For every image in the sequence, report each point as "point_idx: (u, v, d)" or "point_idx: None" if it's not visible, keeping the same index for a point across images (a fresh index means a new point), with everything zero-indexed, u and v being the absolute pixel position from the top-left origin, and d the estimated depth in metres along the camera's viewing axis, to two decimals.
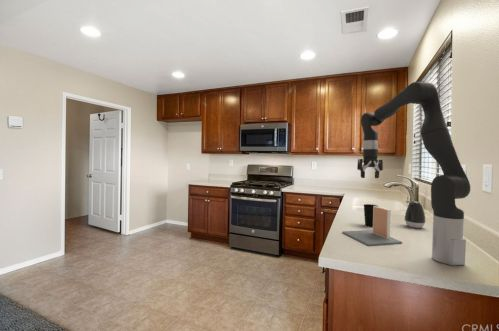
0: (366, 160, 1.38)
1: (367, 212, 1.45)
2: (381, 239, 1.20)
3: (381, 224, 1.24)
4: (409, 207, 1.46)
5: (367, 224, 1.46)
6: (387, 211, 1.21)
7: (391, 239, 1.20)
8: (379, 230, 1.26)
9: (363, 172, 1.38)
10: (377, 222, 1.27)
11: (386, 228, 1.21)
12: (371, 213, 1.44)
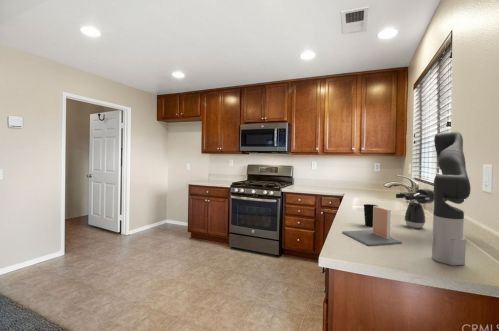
0: None
1: (367, 212, 1.45)
2: (381, 239, 1.20)
3: (381, 224, 1.24)
4: (409, 207, 1.46)
5: (367, 224, 1.46)
6: (387, 211, 1.21)
7: (391, 239, 1.20)
8: (379, 230, 1.26)
9: None
10: (377, 222, 1.27)
11: (386, 228, 1.21)
12: (371, 213, 1.44)
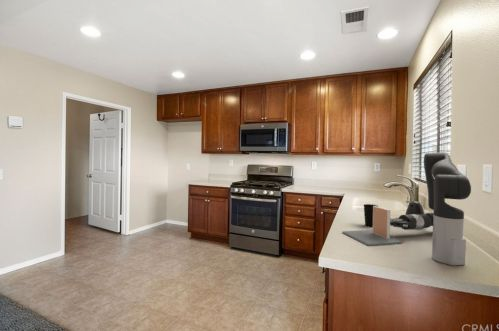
0: None
1: (367, 212, 1.45)
2: (381, 239, 1.20)
3: (381, 224, 1.24)
4: (409, 207, 1.46)
5: (367, 224, 1.46)
6: (387, 211, 1.21)
7: (391, 239, 1.20)
8: (379, 230, 1.26)
9: None
10: (377, 222, 1.27)
11: (386, 228, 1.21)
12: (371, 213, 1.44)
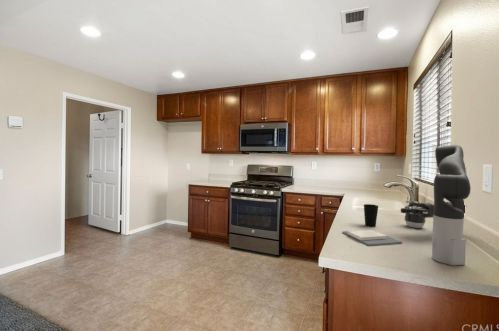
0: None
1: (367, 212, 1.45)
2: (381, 239, 1.20)
3: None
4: None
5: (367, 224, 1.46)
6: (362, 239, 1.18)
7: (391, 239, 1.20)
8: None
9: None
10: None
11: None
12: (371, 213, 1.44)
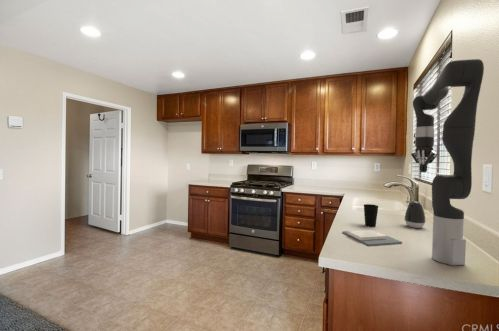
0: (416, 150, 1.26)
1: (367, 212, 1.45)
2: (381, 239, 1.20)
3: None
4: (409, 207, 1.46)
5: (367, 224, 1.46)
6: (362, 239, 1.18)
7: (391, 239, 1.20)
8: None
9: (420, 165, 1.24)
10: None
11: None
12: (371, 213, 1.44)
